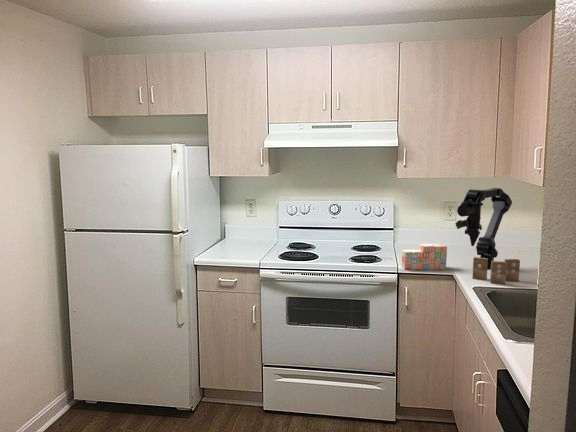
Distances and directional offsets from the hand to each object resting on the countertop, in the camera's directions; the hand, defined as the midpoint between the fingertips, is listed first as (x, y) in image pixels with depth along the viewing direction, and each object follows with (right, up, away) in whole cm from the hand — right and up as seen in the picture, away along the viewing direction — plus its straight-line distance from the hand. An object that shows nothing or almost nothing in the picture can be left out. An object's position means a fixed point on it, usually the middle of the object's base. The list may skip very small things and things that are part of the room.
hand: (472, 245), depth 239 cm
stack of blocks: (-22, -12, +9) cm, 27 cm away
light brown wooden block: (+4, -16, -19) cm, 25 cm away
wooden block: (-1, -15, -12) cm, 19 cm away
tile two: (+12, -15, -15) cm, 25 cm away
